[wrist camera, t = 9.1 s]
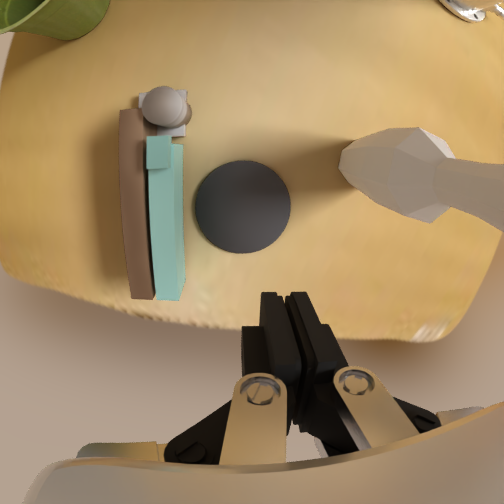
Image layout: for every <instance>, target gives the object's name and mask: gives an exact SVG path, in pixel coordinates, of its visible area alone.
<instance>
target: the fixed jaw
mask: <svg viewBox="0 0 504 504" xmlns="http://www.w3.org/2000/svg"><path fill="white" fill-rule="evenodd" d="M191 116H192V111H191V107H190V105H189V104H188V103H187V91H186V90H174V89H172V88H170V87H167V86H161V87H157V88H154V89H152V90H151V91H150V92H146V93H139V108H135V109H126V110H120V118H119V178H120V200H121V215H122V227H123V238H124V247H125V256H126V264H127V272H128V279H129V286H130V292H131V298H132V299H145V300H153V298H154V296H155V294H156V289H155V279H154V269H153V258H152V245H151V230H150V211H149V174H148V169H147V136H165V135H169V136H172V137H182V136H186V125H187V124H188V122H189V121H190V119H191Z"/></svg>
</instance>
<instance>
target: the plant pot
mask: <svg viewBox="0 0 504 504" xmlns="http://www.w3.org/2000/svg"><path fill="white" fill-rule="evenodd" d="M108 6H109V0H0V34H3V33H6V32H22V31H23V32H28V33H34V34H39V35H44V36H48V37H52V38H57V39H61V40H72V39H77V38H79V37H81V36H83V35H85V34H87V33H88V32H90V31H91V30H92V29H93V28H95V27H96V26H97V25H98V24H99V22H100V21H101V20H102V19H103V17H104V15H105V13H106V10H107V8H108Z"/></svg>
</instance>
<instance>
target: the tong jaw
mask: <svg viewBox="0 0 504 504" xmlns="http://www.w3.org/2000/svg"><path fill="white" fill-rule="evenodd" d="M171 140H172V136H169V135H165V136H147V169H148V174H149V211H150V230H151V245H152V258H153V269H154V279H155V289H156V297H157V300H172V301H179V299H180V296H181V292H182V289H183V286H184V283H185V280H186V278H185V259H184V231H183V145H182V144H171Z"/></svg>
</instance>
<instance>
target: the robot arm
mask: <svg viewBox="0 0 504 504" xmlns="http://www.w3.org/2000/svg"><path fill="white" fill-rule="evenodd" d="M439 1H440V2H441V3H442V4H443V5H444V6H445V7H446V8H447V9H449V10H450V11H451V12H452V13H454V14H455V15H457V16H458V17H460V18H461V19H463V20H465V21H468V22H471V23H476V22H479V21H482V20H483V19H484V17H485V14H486V11H490V12H494V13H495V14H496V15H497V16H499V17H500V18H501V19H503V20H504V9H503V8H501V7H500V6H498V4H500V3H503V2H504V0H439ZM241 339H242V340H241V350H242V351H241V355H242V356H241V359H242V378H241V379H240V380H239V381H238V382H237V383H236V385H235V387H234V392H233V397H232V400H230V401H229V402H227V403H226V404H225V405H223V406H222V407H220V408H219V409H217V410H216V411H214V412H213V413H212V414H210V415H209V416H207V417H206V418H204V419H203V420H201V421H200V422H198V423H197V424H196V425H194V426H192V427H191V428H189V429H187V430H186V431H185V432H183V433H181V434H180V435H178V436H176V437H175V438H173V439H172V440H171V441H170V442H169V443H168V444H157V443H156V442H136V443H91V444H88V445H86V446H84V447H82V448H81V449H80V451H79V452H78V455H77V457H76V458H75V459H67V460H63V461H58V462H55V463H52V464H50V465H48V466H47V467H45V468H44V469H43V470H42V471H41V472H40V473H39V474H38V475H37V477H36V478H35V480H34V481H33V483H32V485H31V486H30V488H29V490H28V492H27V494H26V497H25V499H24V502H23V504H504V402H500V403H497V404H494V405H491V406H489V407H487V408H483V407H470V408H464V409H457V410H449V411H441V412H437V413H436V415H435V414H433V413H431V412H430V411H428V410H425V409H423V408H420V407H417V406H415V405H412V404H410V403H407V402H405V401H402V400H400V399H397V398H395V397H392V396H391V395H390V393H389V392H388V391H387V389H386V388H385V387H384V385H383V384H382V383H381V381H380V380H379V379H378V377H377V376H376V375H375V374H374V373H373V372H371V371H370V370H368V369H366V368H362V367H358V366H348V363H347V361H346V359H345V357H344V355H343V353H342V351H341V349H340V347H339V344H338V342H337V340H336V338H335V336H334V334H333V332H332V330H331V328H330V326H329V325H328V324H321V323H320V321H319V318H318V316H317V314H316V312H315V310H314V307H313V305H312V303H311V301H310V299H309V297H308V294H307V293H306V292H291V294H290V296H286V297H285V304H284V300H283V297H282V296H277V293H276V292H262V293H261V304H260V322H259V326H242V337H241ZM291 421H293V424H294V425H297V424H298V425H299V429H300V432H301V433H302V432H308V433H309V434H311V435H312V436H314V437H315V438H314V441H315V445H316V447H317V449H318V451H319V454H320V456H321V458H319V459H312V460H305V461H296V462H287V463H286V436H287V435H288V433H289V429H290V425H291Z"/></svg>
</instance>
